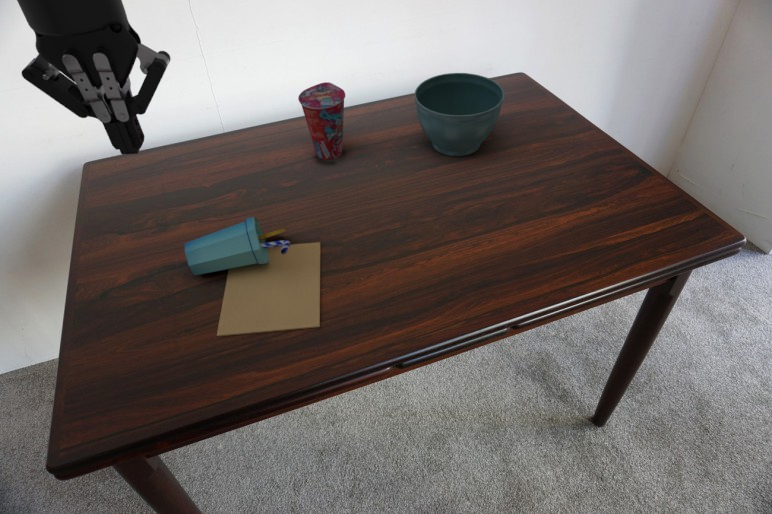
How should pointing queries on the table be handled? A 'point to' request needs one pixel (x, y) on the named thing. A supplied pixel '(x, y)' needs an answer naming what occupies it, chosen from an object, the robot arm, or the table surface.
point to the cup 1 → (231, 248)
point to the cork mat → (273, 293)
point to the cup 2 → (324, 118)
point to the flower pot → (458, 111)
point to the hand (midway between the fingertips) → (132, 149)
